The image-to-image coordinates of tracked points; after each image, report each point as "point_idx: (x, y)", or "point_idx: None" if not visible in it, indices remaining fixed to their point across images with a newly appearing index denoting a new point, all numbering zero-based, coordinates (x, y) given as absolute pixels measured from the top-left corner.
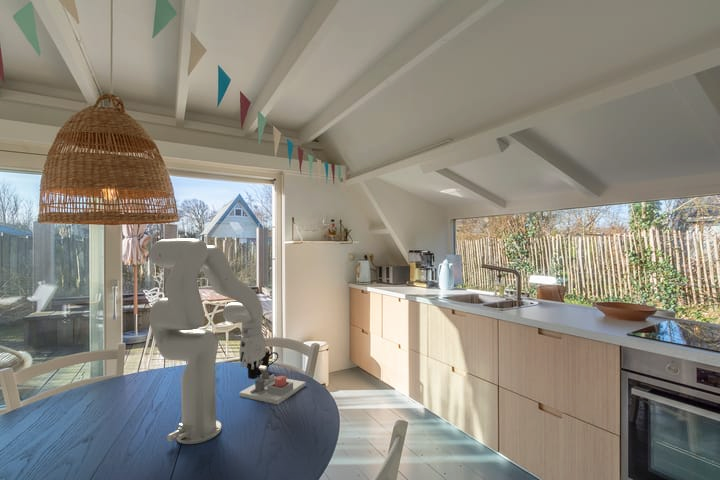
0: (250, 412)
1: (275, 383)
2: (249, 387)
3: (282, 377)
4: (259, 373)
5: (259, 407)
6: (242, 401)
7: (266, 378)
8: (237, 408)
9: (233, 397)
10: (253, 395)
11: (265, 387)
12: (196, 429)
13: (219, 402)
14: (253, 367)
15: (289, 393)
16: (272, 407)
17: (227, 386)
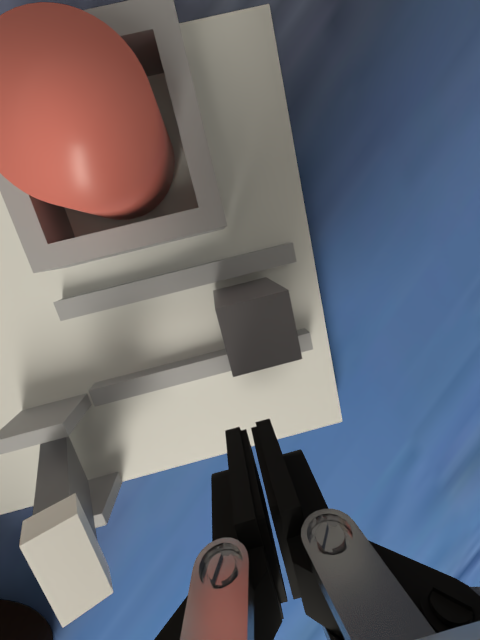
0: (459, 114)
1: (162, 142)
2: None
3: (25, 99)
4: (22, 621)
5: (373, 126)
6: (370, 322)
7: (75, 456)
8: (456, 254)
9: (361, 421)
10: (319, 290)
11: (165, 343)
12: None
13: (448, 422)
14: (315, 538)
15: None
16: (321, 23)
17: None
